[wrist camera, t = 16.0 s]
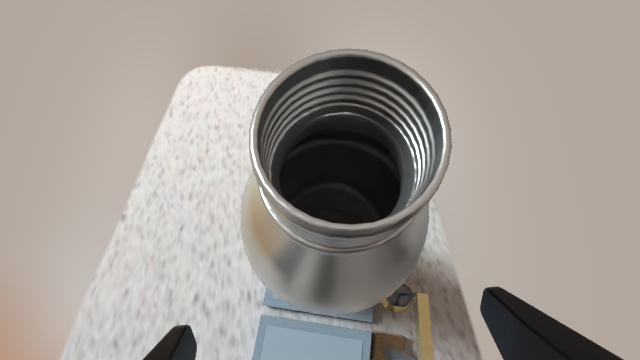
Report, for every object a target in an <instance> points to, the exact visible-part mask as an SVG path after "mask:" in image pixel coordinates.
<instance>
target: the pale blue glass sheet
mask: <svg viewBox="0 0 640 360" xmlns="http://www.w3.org/2000/svg"><path fill="white" fill-rule="evenodd" d="M371 334H372V333H371V332H369V331H363V330H357V329H350V328H344V327H338V326H332V325H325V324H319V323H313V322H307V321H300V320H294V319H288V318H282V317H276V316H269V315H263V314H262V315H261V317H260V322H259V327H258V333H257V338H256V343H255V348H254V353H253V358H252V360H370V348H371Z"/></svg>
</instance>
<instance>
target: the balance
mask: <svg viewBox="0 0 640 360" xmlns="http://www.w3.org/2000/svg"><path fill="white" fill-rule="evenodd" d="M412 297H414V307H415V323H416V340H417V356H418V360H434V353H433V342H432V331H431V320H430V309H429V298H428V294H423V293H412V292H411V289H410V287H409V285H408V284H407V283H406V282H404V283H403V284H402V285H401V286H400V287H399V288H398V289H397V290H396V291H395V292H394V293H393V294H392V295H391V296H389V297H387V298H386V299H384V300H383V301H381V304H382V305H383V306H384V307H385V308H386V309H387V310H389V311H392V312H401V311H404V310H405V309H407V308H408V307H409V305H410V303H411V300H412ZM403 343H404V337H403V336H401V335H397V334H391V333H384V332H378V331H374V339H373V353H372V360H416V359H415V358H413V357H412V356H411V355H409V354H408V353H406V352H405V351H403Z"/></svg>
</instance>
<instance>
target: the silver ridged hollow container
mask: <svg viewBox="0 0 640 360" xmlns="http://www.w3.org/2000/svg"><path fill="white" fill-rule="evenodd" d="M451 147H452V145H451V128H450V125H449V120H448V117H447V113H446V110H445V108H444V106H443V104H442V102H441V100H440V98H439V96H438V95H437V93H436V92H435V91H434V90H433V88H432V87H431V86H430V84H429V83H428V82H427V81H426V80H425V79H424V78H422V76H420V75H419V74H418V73H417V72H416V71H415V70H414V69H412V68H410V67H409V66H407V65H406V64H404V63H402V62H401V61H399V60H397V59H394V58H392V57H389V56H387V55H384V54H381V53H377V52H373V51H368V50H360V49H339V50H330V51H326V52H322V53H318V54H314V55H312V56H309V57H307V58H305V59H302V60H300V61H298V62H296V63H295V64H293V65H292V66H290V67H289V68H287V69H286V70H284V71H283V72H282V73H281V74H280V75H279V76H277V77H276V78H275V79H274V80H273V81H272V82H271V83H270V85H269V86H268V87H267V89H266V90H265V92H264V93H263V94H262V96H261V97H260V99H259V101H258V104H257V106H256V108H255V110H254V113H253V116H252V121H251V125H250V130H249V150H250V159H251V163H252V168H253V170H252V172H251V175H250V177H249V179H248V182H247V184H246V186H245V191H244V196H243V200H242V205H241V236H242V241H243V246H244V250H245V253H246V255H247V257H248V260H249V262H250V265H251V267H252V269H253V270H254V271H255V273H256V274H257V276H258V277H259V279H260V280H261V282H262V283H263V284H264V285H265V286H266V287H267V288H268V289H269V290H270V291H271V292H272V293H273V294H274V295H275V296H277V297H278V298H280V299H281V300H283V301H285V302H286V303H288V304H290V305H291V306H293V307H295V308H298V309H301V310H304V311H307V312H310V313H313V314H323V315H334V316H335V315H343V314H351V313H356V312H359V311H362V310H364V309H367V308H370V307H373V306H375V305H376V304H378V303H380V302H381V301H383V300H384V299H386V298H387V297H389V296H391V295H392V294H393V293H394V292H395V291H396V290H397V289H398V288H399V287H400V286H401V285H402V284H403V283H404V282H405V281H406V280H407V278H408V277H409V275H410V274H411V272H412V271H413V269H414V267H415V266H416V264H417V262H418V259H419V257H420V254H421V252H422V249H423V247H424V243H425V240H426V234H427V229H428V223H429V201H430V200H431V198H432V197H433V195H434V194H435V192H436V191H437V190H438V188H439V186H440V184H441V182H442V180H443V177H444V175H445V172H446V170H447V167H448V165H449V159H450V153H451Z"/></svg>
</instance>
